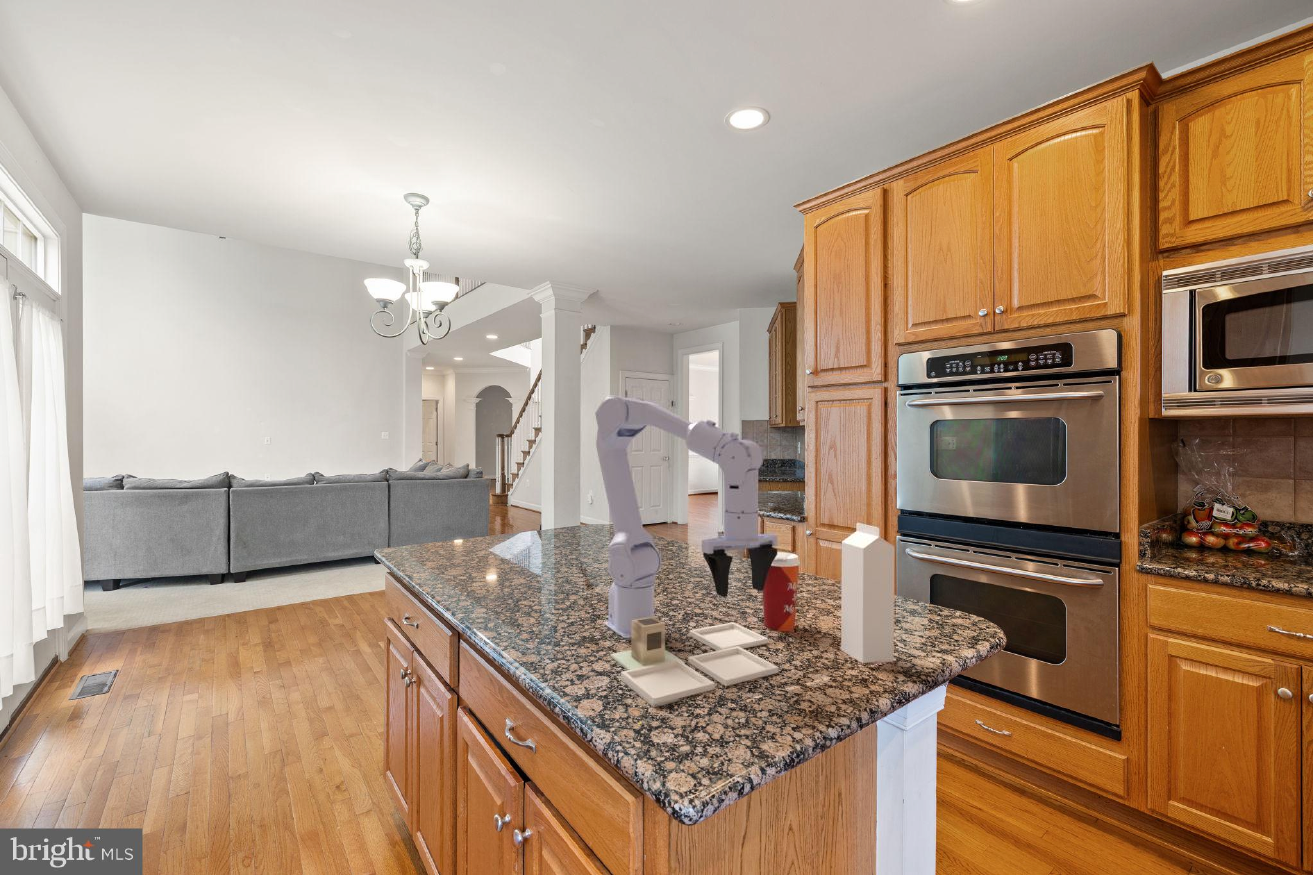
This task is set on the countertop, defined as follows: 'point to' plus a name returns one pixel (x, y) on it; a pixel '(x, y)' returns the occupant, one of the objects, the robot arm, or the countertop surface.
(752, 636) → the dish
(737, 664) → the dish
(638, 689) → the dish
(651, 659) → the letter block
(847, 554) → the milk
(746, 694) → the countertop surface
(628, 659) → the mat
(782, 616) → the paper cup
